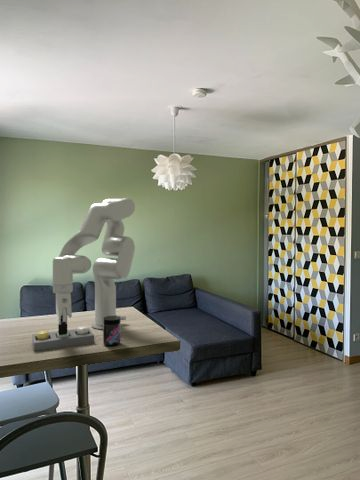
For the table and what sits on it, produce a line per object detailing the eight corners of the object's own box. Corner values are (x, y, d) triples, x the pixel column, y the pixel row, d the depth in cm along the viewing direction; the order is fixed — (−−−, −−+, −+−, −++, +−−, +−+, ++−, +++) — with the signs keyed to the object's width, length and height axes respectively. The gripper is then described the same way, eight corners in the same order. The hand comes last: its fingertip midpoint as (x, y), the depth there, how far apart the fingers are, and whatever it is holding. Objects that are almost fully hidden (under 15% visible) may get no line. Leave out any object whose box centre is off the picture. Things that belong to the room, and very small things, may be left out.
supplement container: (102, 347, 133) (102, 320, 132) (103, 341, 139) (103, 315, 139) (120, 346, 134) (120, 319, 133) (120, 340, 140) (120, 315, 140)
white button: (86, 331, 144) (86, 326, 144) (89, 335, 140) (89, 328, 140) (75, 333, 142) (75, 327, 142) (77, 336, 138) (77, 330, 138)
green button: (68, 337, 141) (68, 331, 141) (69, 341, 137) (69, 334, 137) (56, 339, 139) (56, 333, 139) (58, 342, 135) (58, 336, 135)
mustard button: (48, 336, 138) (48, 330, 137) (49, 340, 134) (49, 333, 134) (36, 338, 136) (36, 331, 136) (37, 341, 132) (37, 335, 132)
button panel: (88, 334, 148) (88, 327, 148) (94, 342, 138) (94, 335, 138) (32, 341, 138) (32, 334, 138) (34, 351, 128) (34, 343, 128)
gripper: (75, 290, 132) (75, 338, 133) (69, 284, 145) (69, 328, 146) (55, 292, 129) (55, 341, 129) (50, 285, 142) (50, 330, 143)
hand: (62, 333), depth 138 cm, fingers closed
